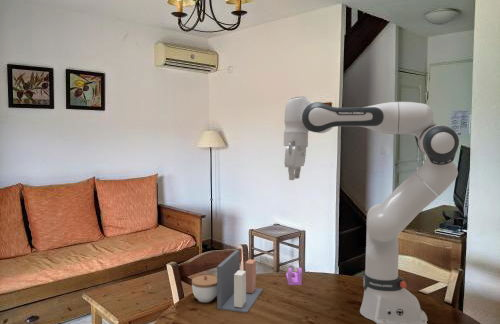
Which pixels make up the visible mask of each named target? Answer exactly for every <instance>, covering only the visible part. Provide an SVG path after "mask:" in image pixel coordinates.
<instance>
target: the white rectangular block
mask: <svg viewBox="0 0 500 324" xmlns="http://www.w3.org/2000/svg"><path fill="white" fill-rule="evenodd" d="M245 303H246V271H245V270H240V269H239V270H238V271H237V272H236V273H235V274H234V307H240V308H242V307H243V305H244V304H245Z"/></svg>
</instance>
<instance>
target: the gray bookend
mask: <svg viewBox="0 0 500 324" xmlns="http://www.w3.org/2000/svg"><path fill="white" fill-rule="evenodd" d="M240 255H241V254H240V250H239V249H235V250H234V251H233V252H232V253H231V254H230V255H228V256H227V257H226V258H225V259H224V260H222V261H221V262H219V264H218V265H216V277H217V296H216V297H217V298H216V299H217V301H216V304H217V306H216V309H217V310H220V311H221V310H222V311H230V312H238V313H245V314H247V313H248V312H249V311H250V309H251V308H252V306H253V305H254V303H255V302H256V300H257V299H258V298H259V296H260V295H261V293H262V292H263V288H258V287H256V289H255V290H254V292H253V293H247V292H246V303H245V304H244V305H243V307H242V308H240V307H234V274H235V273H236V272H237V271H238V270H240V265H241V264H240V260H241V259H240V257H241V256H240Z"/></svg>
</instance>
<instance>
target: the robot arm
mask: <svg viewBox="0 0 500 324" xmlns="http://www.w3.org/2000/svg"><path fill="white" fill-rule="evenodd" d="M283 121H284V126H285V127H284V131H283V147H285V150H284V152H285V153H284V161H283V162H284V167H285V168H287V171H288V180H289V181H295V179H297V180H298V179H300V176H301V175H300V174H301V170H302V167H304V165H305V163H306V156H307V147H309V146H308V145H309V132H312V133H316V134H317V133H318V134H325V133H328V132H329V131H331V130H332V129H333V128H336V127H361V128H366V129H369V130H371V131H373V132H376V133H379V134H386V135H413V136H414V138H415V142H416V146H417V148H418V149H419V151H420V152H421V153H422V154H424V155H425V160H424V162H423V164H422V165H421V166H420V167H419V168H418V169H417V170H415V171H414V172H413V173H412V174H411V175H409V177H407V178H406V179H405V180H403V182H401V184H399V185H398V186H397V187H396V188H395V189H394V190H393V191H392V193H391V194H389V196H388V197H386V199H385V200H384V201H382V202H381V203H380V202H379V203H376V204H374V205H372V206H371V207H370V208H369V210H368V212H367V214H366V224H365V225H366V234H365V235H366V237H365V238H366V240H365V242H366V243H365V245H366V246H365V271H364V274H363V290H364V292H363V297H362V302H361V306H360V309H359V313H360V314H361V315H362V316H363V317H364V318H366V319H369V320H370V321H373V322H374V323H376V324H428V323H427V321H428V315H427V314H426V312H425V311H424V310H422V308H421V305H420V304H421V303H420V301H419V300H418V298H417V297H416V296H415V295H414V294H412V293H411V292H410V291H409V290H408V289H406V288H407V283H406V281H405V280H404V279H403V277H402V276H401V275H399V255H400V254H399V235H400V234H401V232H403V231H404V229H406V228H407V226H408V225H410V223H411V222H412V221H413V220H414V219H415V218H416V217H417V216H418V215H419V214H420V213H421V212H422V211H423V210H424V209H425V208H427V207H428V206H429V205H430V204H432V203H433V202H434V201H435V200H436V199H438V198H439V197H440V196H441V195H442V194H443V193H444V192H445V191H446V190H447V189H448V188H449V187H450V186H451V185H452V184H453V183H454V182H455V180H456V179H457V177H458V175H459V171H458V168H457V166H456V164H455V163H454V160H455V157H456V153H457V152H458V149H459V146H460V145H459V144H460V139H459V135H458V134H457V132H456V131H455V130H454V129H452V127H449V126H447V125H446V126H445V125H441V124H437V123H436V122H435V121H434V113H433V110H432V108H431V107H430V105H429V104H426V103H421V102H415V101H391V102H390V101H389V102H383V103H377V104H373V105H368V106H359V107H358V106H356V107H351V106H350V107H333V106H331V105H328V104H326V103H323V102H321V101H317V102H314V101H312V100H310V99H309V98H308V97H307V96H295V97H292V98H290V99H288V100H287V102H286V105H285V109H284V120H283Z"/></svg>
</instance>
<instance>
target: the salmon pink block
mask: <svg viewBox="0 0 500 324" xmlns="http://www.w3.org/2000/svg"><path fill="white" fill-rule="evenodd" d="M244 268H245V269H244V271H246V292H247V293H253V292H254V290H255V289H256V288H257V287H256V286H257V284H256V283H257V260H256V259H251V258H250V259H247V260H246V261H245V265H244Z"/></svg>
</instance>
